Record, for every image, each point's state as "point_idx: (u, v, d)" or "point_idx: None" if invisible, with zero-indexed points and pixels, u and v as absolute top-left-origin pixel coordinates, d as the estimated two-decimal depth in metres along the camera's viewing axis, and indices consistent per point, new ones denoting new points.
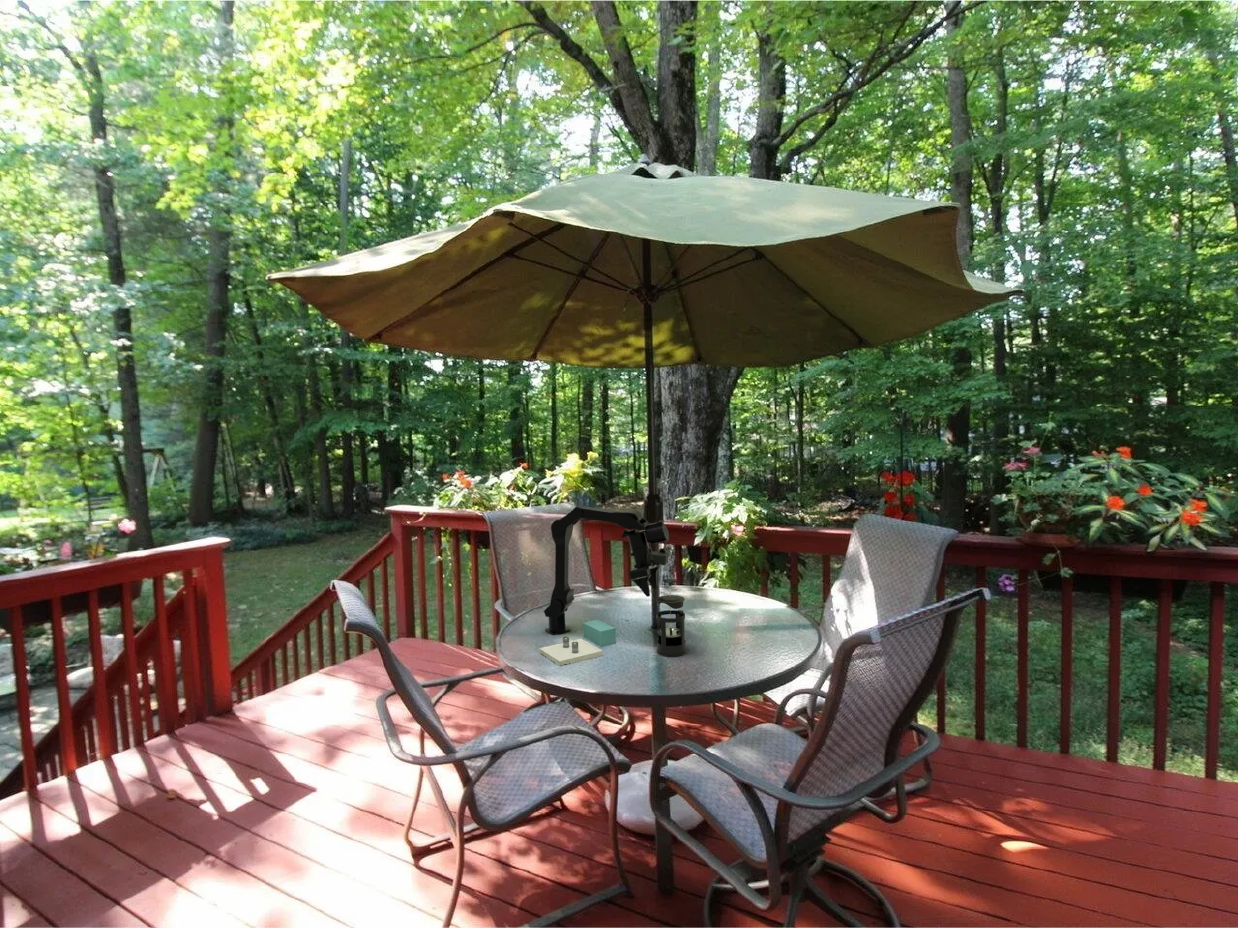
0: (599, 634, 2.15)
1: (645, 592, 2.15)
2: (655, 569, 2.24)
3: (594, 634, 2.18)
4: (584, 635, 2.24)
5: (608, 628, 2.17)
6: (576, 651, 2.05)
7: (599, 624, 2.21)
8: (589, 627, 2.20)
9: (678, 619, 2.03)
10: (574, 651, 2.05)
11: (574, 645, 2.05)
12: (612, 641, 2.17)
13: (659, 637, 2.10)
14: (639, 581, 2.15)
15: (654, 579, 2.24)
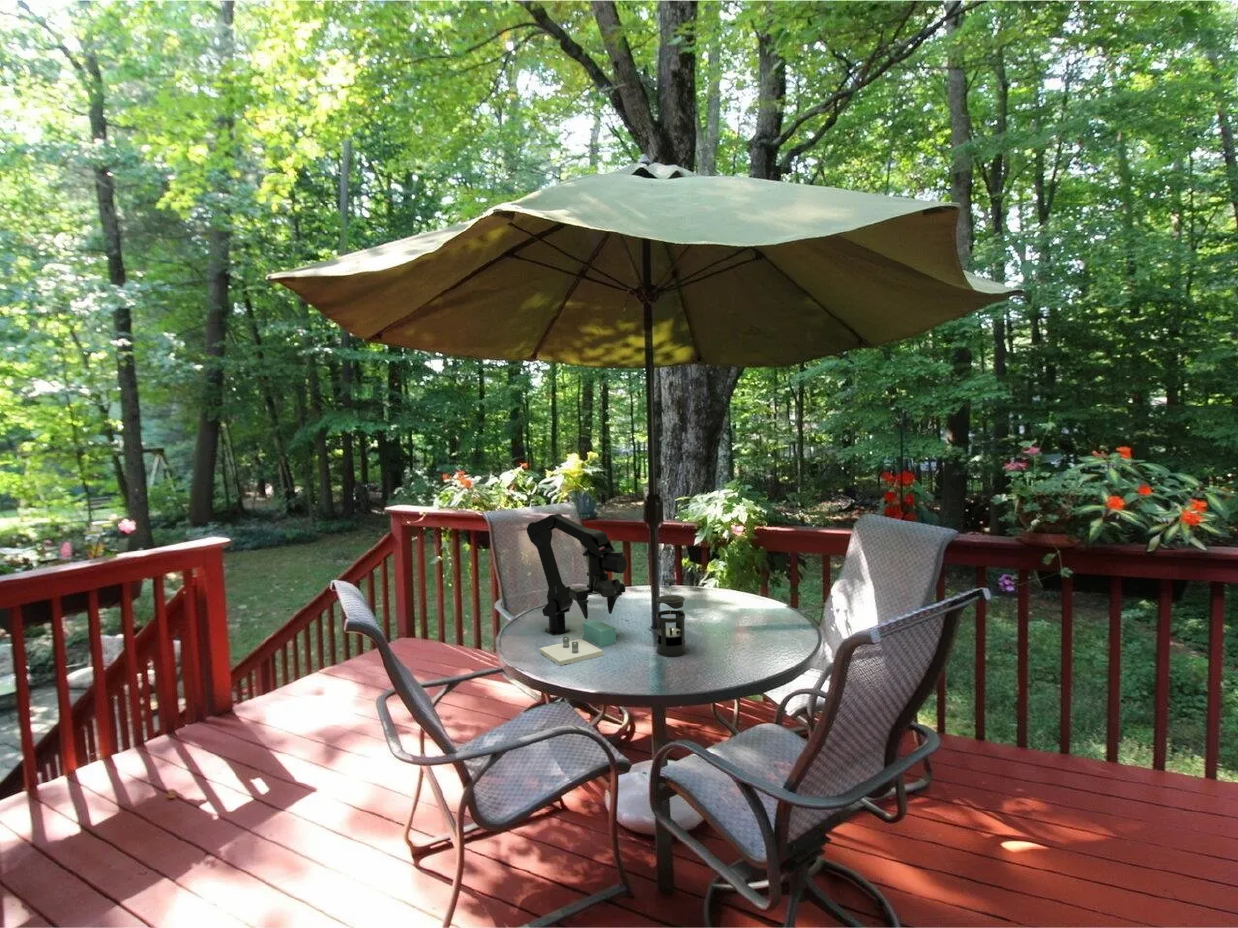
0: (599, 634, 2.15)
1: (583, 614, 2.18)
2: (613, 595, 2.21)
3: (594, 634, 2.18)
4: (584, 635, 2.24)
5: (608, 628, 2.17)
6: (576, 651, 2.05)
7: (599, 624, 2.21)
8: (589, 627, 2.20)
9: (678, 619, 2.03)
10: (574, 651, 2.05)
11: (574, 645, 2.05)
12: (612, 641, 2.17)
13: (659, 637, 2.10)
14: None
15: (610, 604, 2.22)
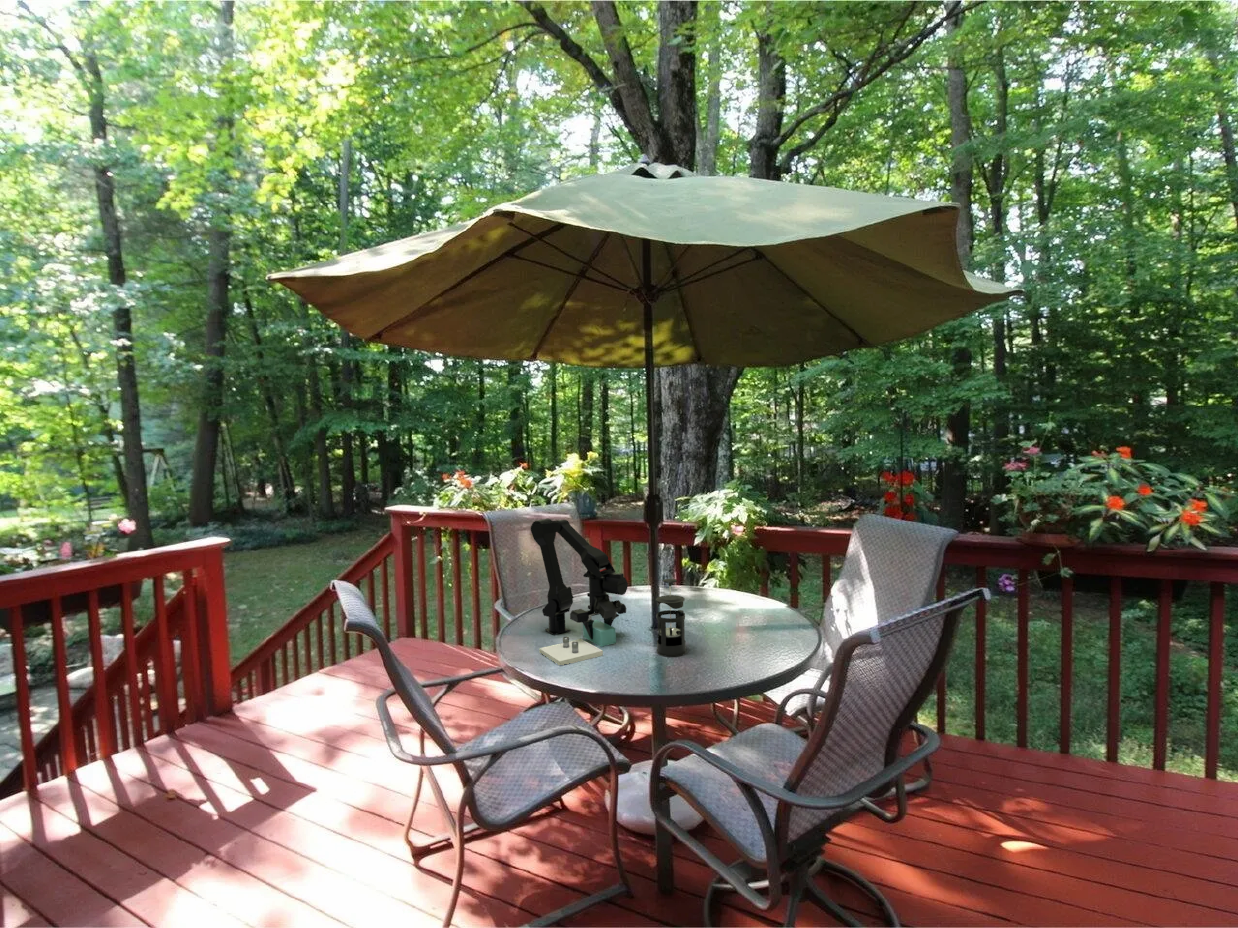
0: (599, 634, 2.15)
1: (589, 634, 2.19)
2: (610, 617, 2.21)
3: (594, 634, 2.18)
4: (584, 635, 2.24)
5: (608, 628, 2.17)
6: (576, 651, 2.05)
7: (599, 624, 2.21)
8: None
9: (678, 619, 2.03)
10: (574, 651, 2.05)
11: (574, 645, 2.05)
12: (612, 641, 2.17)
13: (659, 637, 2.10)
14: None
15: None
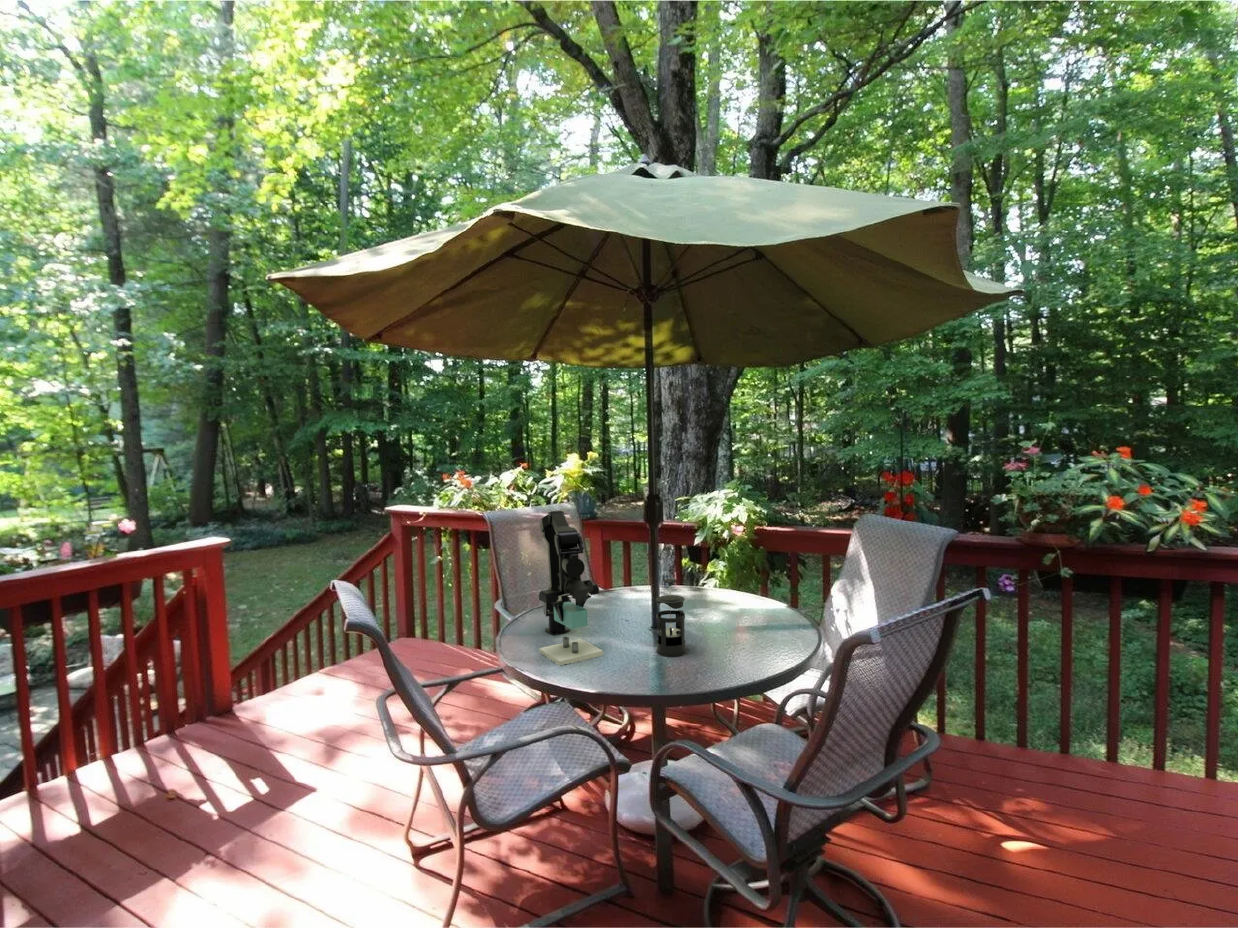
0: (570, 616, 2.02)
1: (559, 616, 2.06)
2: (581, 598, 2.08)
3: (564, 616, 2.05)
4: (554, 618, 2.10)
5: (579, 609, 2.04)
6: (576, 651, 2.05)
7: (570, 606, 2.08)
8: None
9: (678, 619, 2.03)
10: (574, 651, 2.05)
11: (574, 645, 2.05)
12: (584, 623, 2.04)
13: (659, 637, 2.10)
14: (555, 603, 2.06)
15: None
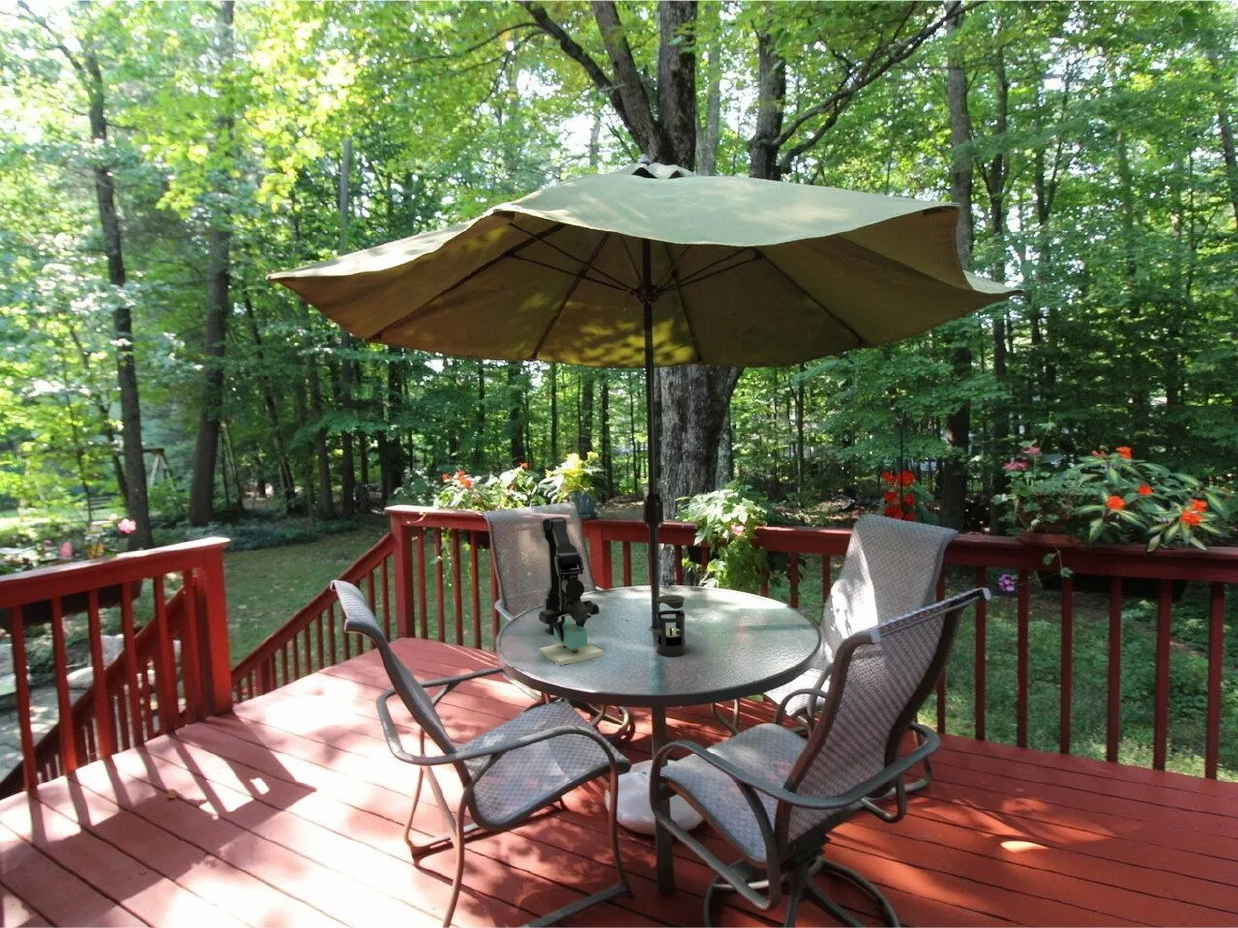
0: (569, 636, 2.02)
1: (559, 636, 2.06)
2: (581, 618, 2.08)
3: (564, 636, 2.05)
4: (555, 637, 2.11)
5: (579, 630, 2.04)
6: (576, 651, 2.05)
7: (570, 626, 2.09)
8: None
9: (678, 619, 2.03)
10: (574, 651, 2.05)
11: None
12: (583, 644, 2.04)
13: (659, 637, 2.10)
14: None
15: None
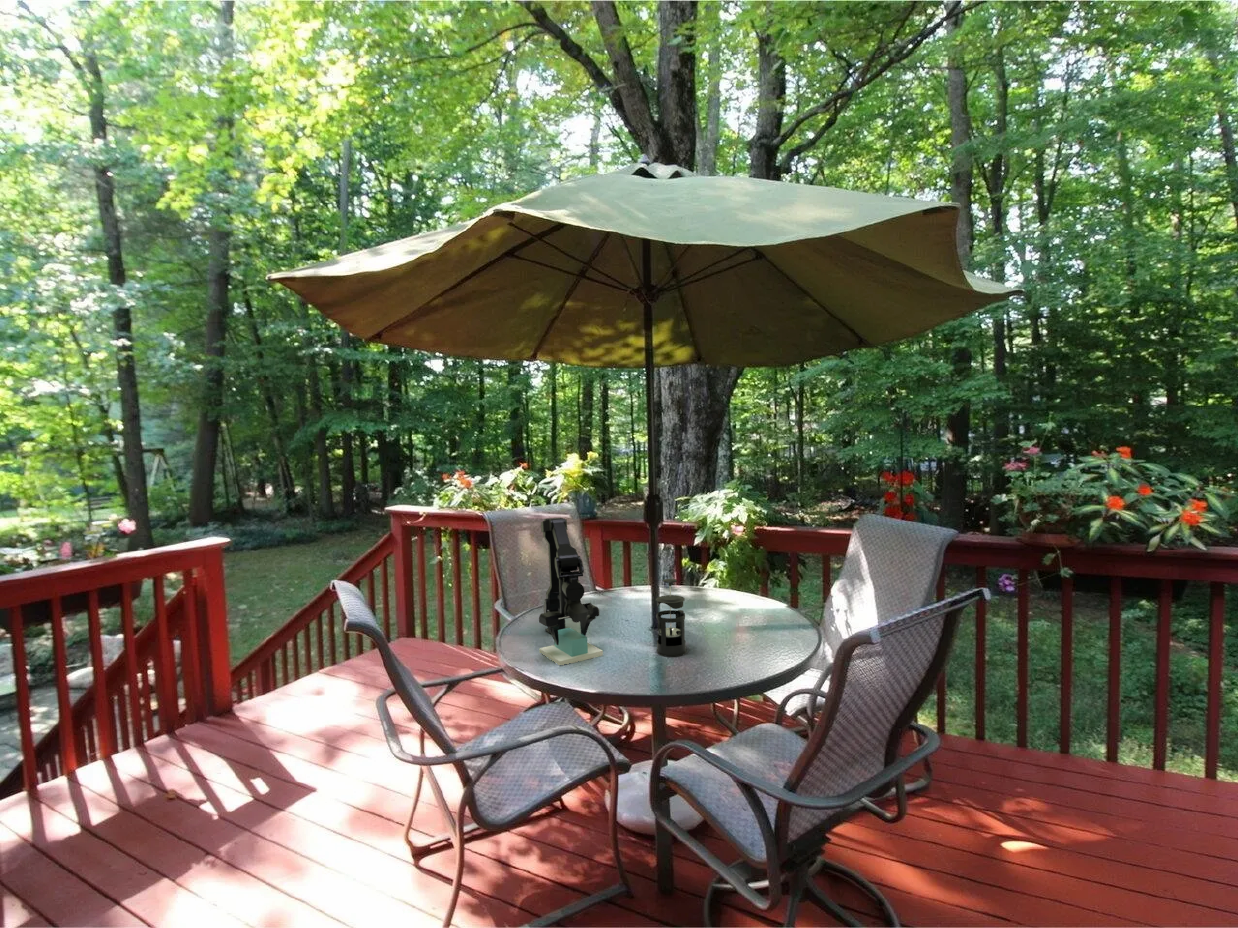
0: (570, 643, 2.02)
1: (554, 639, 2.06)
2: (586, 619, 2.09)
3: (565, 643, 2.05)
4: (555, 644, 2.11)
5: (579, 637, 2.04)
6: None
7: (571, 633, 2.09)
8: (560, 636, 2.08)
9: (678, 619, 2.03)
10: None
11: None
12: (584, 651, 2.04)
13: (659, 637, 2.10)
14: None
15: (583, 629, 2.10)
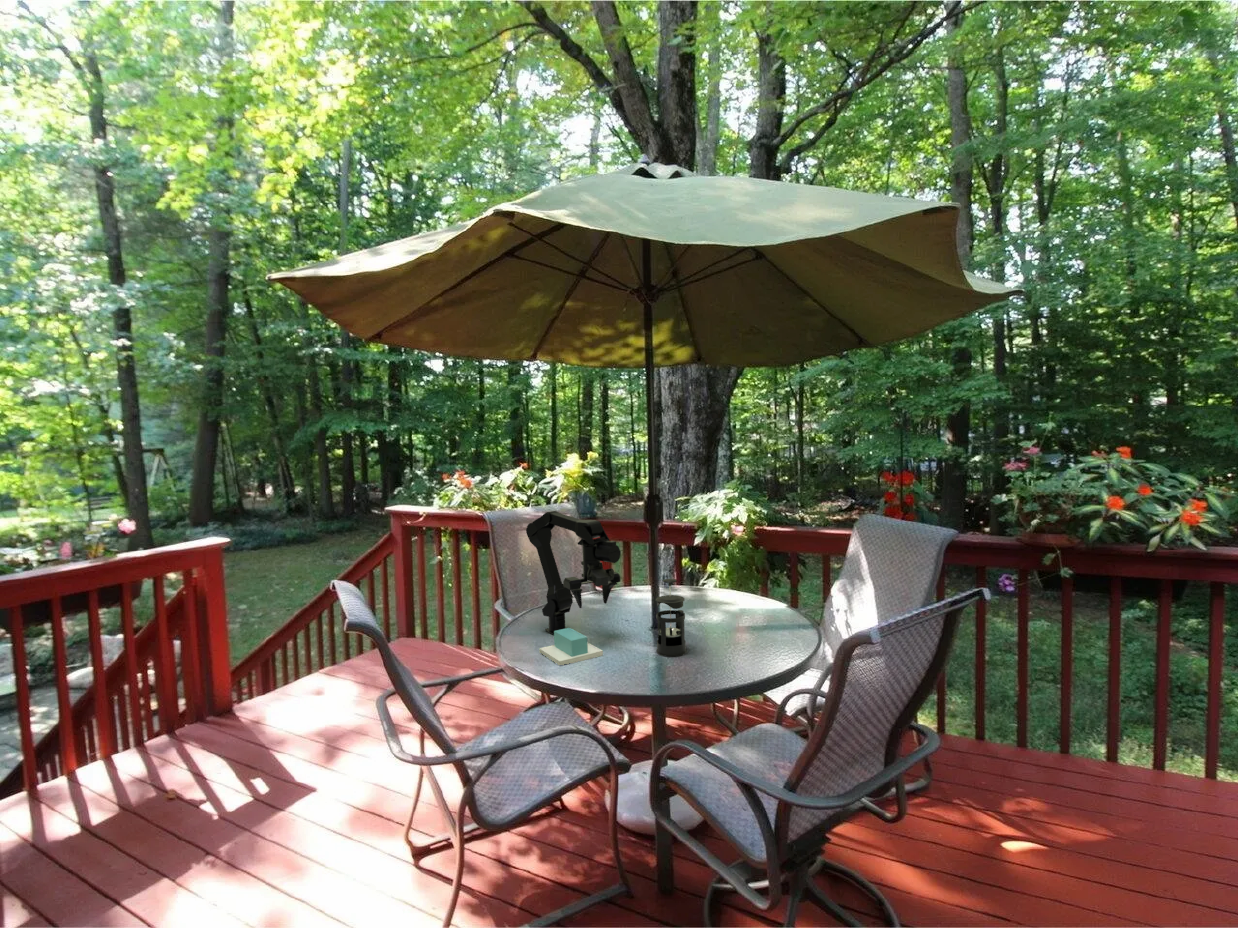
0: (570, 643, 2.02)
1: (577, 603, 2.17)
2: (608, 585, 2.20)
3: (565, 643, 2.05)
4: (555, 644, 2.11)
5: (579, 637, 2.04)
6: None
7: (571, 633, 2.09)
8: (560, 636, 2.08)
9: (678, 619, 2.03)
10: None
11: None
12: (584, 651, 2.04)
13: (659, 637, 2.10)
14: None
15: (605, 594, 2.21)
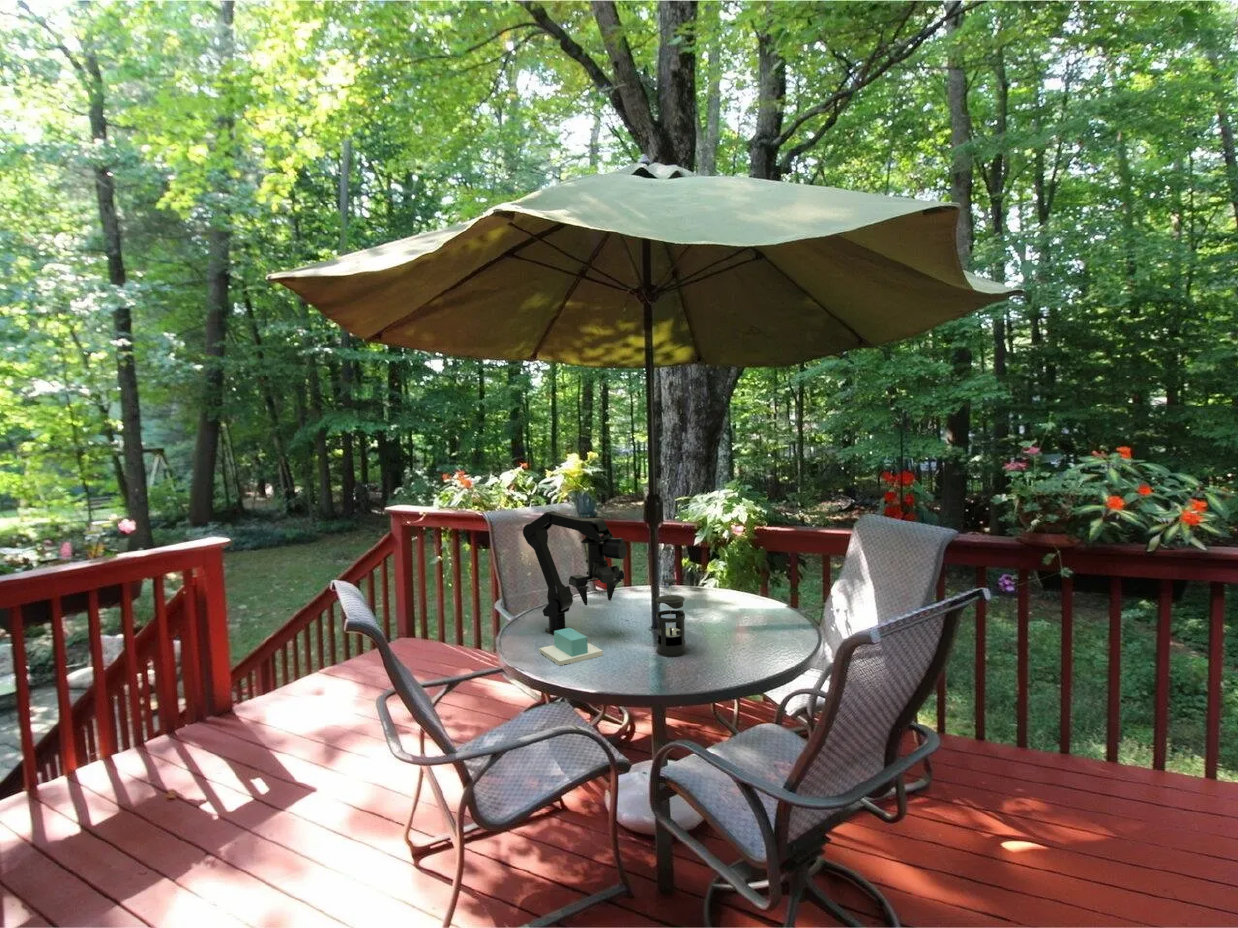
0: (570, 643, 2.02)
1: (583, 600, 2.20)
2: (612, 582, 2.23)
3: (565, 643, 2.05)
4: (555, 644, 2.11)
5: (579, 637, 2.04)
6: None
7: (571, 633, 2.09)
8: (560, 636, 2.08)
9: (678, 619, 2.03)
10: None
11: None
12: (584, 651, 2.04)
13: (659, 637, 2.10)
14: (579, 588, 2.20)
15: (610, 591, 2.24)
